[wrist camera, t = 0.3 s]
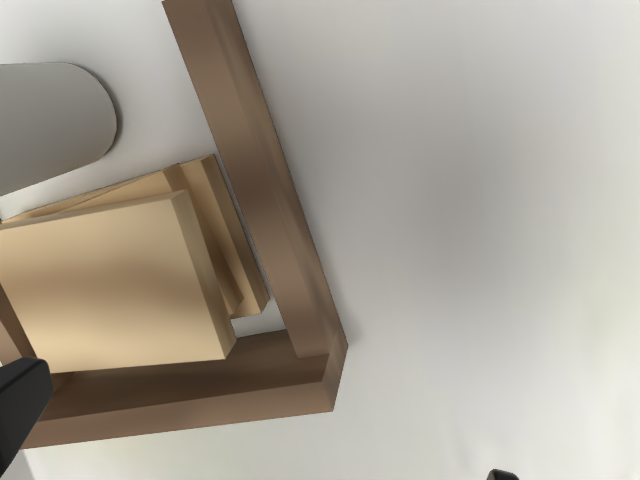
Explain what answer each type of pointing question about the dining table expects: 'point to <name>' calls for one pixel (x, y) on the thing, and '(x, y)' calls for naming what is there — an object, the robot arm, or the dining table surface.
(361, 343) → the dining table surface
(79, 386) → the offcut rack
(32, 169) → the beverage can
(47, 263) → the offcut stack
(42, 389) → the robot arm
